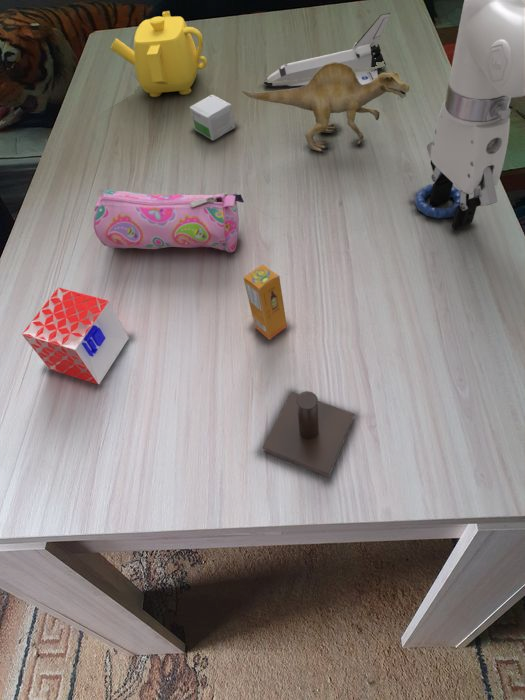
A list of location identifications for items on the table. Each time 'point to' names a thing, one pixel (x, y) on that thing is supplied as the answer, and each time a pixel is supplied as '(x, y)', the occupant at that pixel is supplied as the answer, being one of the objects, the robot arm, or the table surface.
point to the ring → (436, 211)
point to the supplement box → (266, 301)
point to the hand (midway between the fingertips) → (450, 213)
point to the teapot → (164, 54)
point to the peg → (309, 433)
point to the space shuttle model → (337, 60)
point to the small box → (212, 117)
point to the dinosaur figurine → (335, 97)
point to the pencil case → (167, 220)
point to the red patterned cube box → (77, 335)
